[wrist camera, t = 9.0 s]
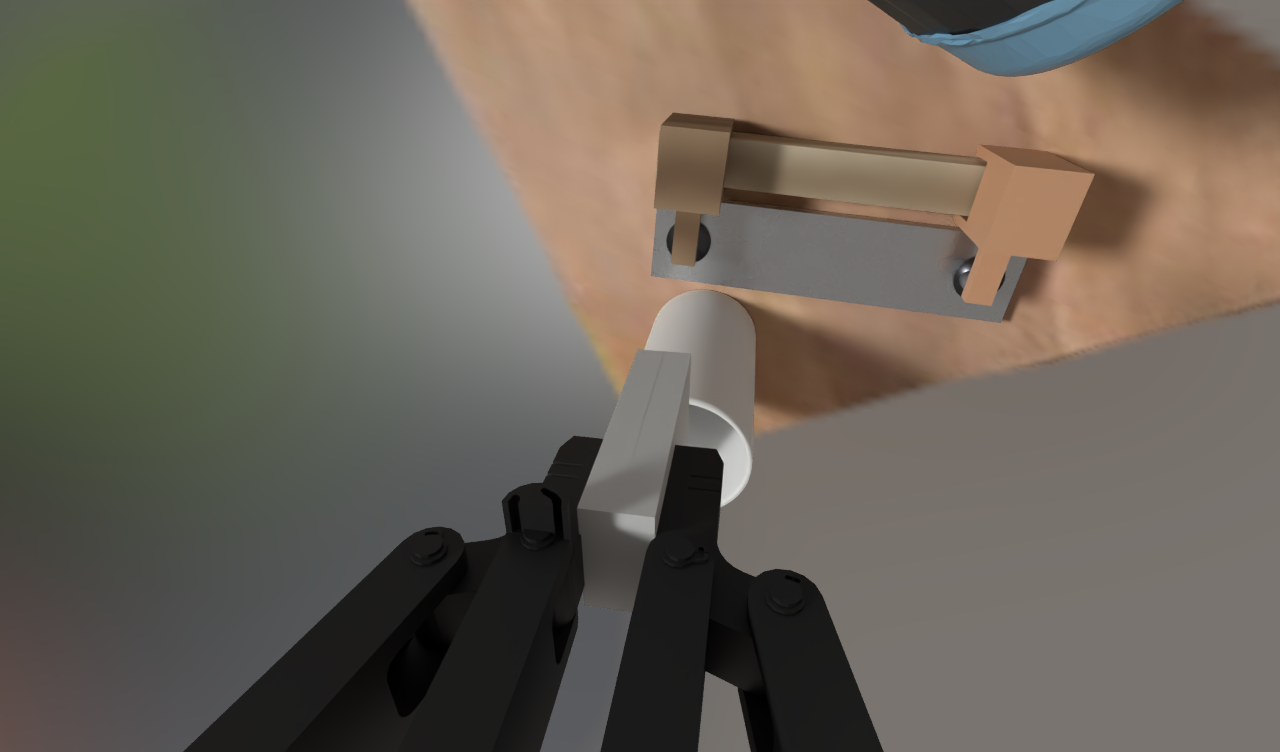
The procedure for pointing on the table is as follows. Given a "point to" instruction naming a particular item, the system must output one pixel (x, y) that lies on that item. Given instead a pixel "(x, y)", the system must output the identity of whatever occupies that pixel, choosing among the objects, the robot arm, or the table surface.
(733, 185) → the beam
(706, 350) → the cup
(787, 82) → the table surface
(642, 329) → the table surface
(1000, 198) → the block
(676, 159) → the fixed leg
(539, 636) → the robot arm
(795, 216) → the bolt strip
